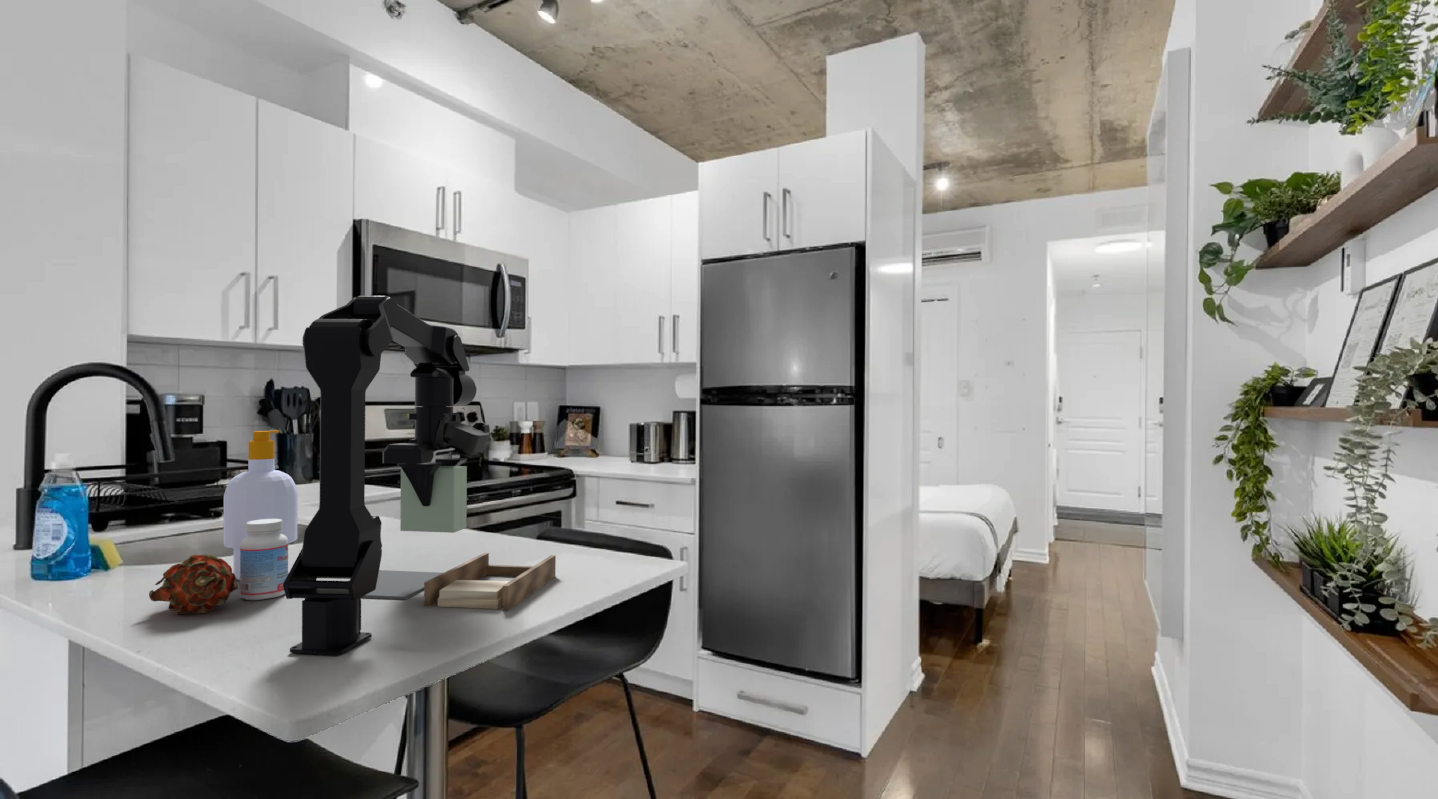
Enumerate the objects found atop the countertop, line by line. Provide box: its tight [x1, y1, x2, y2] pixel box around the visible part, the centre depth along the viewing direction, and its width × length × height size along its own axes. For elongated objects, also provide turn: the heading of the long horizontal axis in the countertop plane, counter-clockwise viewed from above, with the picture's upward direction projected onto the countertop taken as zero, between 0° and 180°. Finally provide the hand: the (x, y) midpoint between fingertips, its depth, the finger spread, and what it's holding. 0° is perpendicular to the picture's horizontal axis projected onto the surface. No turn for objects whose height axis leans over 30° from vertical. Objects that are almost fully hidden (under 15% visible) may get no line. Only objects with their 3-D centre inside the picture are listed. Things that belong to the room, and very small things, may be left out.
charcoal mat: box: [348, 569, 444, 600], centre depth 111 cm, size 14×14×1 cm
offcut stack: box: [437, 579, 510, 610], centre depth 103 cm, size 6×9×2 cm
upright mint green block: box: [399, 465, 468, 534], centre depth 112 cm, size 4×9×10 cm, turn 82°
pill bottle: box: [239, 519, 289, 601], centre depth 105 cm, size 6×6×11 cm
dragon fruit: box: [148, 554, 239, 615], centre depth 98 cm, size 8×8×12 cm
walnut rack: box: [423, 552, 557, 612], centre depth 109 cm, size 19×13×4 cm, turn 173°
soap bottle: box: [223, 429, 299, 581], centre depth 116 cm, size 10×10×24 cm
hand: (433, 504), depth 112 cm, fingers closed on upright mint green block, 4 cm apart
